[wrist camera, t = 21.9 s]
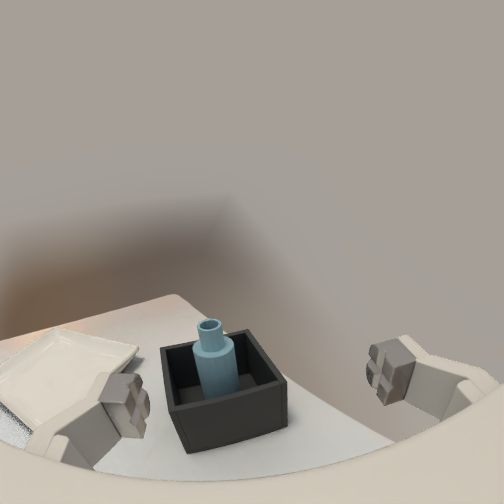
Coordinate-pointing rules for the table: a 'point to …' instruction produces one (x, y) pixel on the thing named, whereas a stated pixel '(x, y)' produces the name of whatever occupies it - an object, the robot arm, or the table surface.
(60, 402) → the square plate
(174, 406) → the bin
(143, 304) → the table surface
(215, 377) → the bottle
